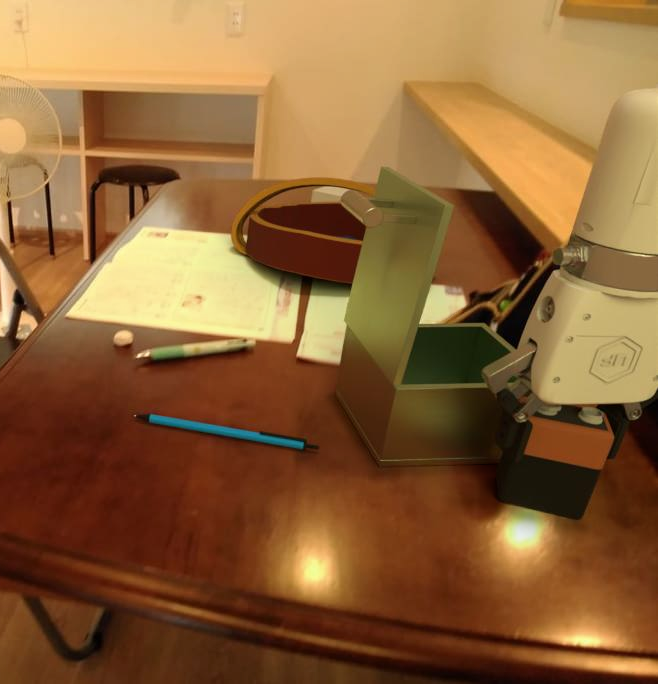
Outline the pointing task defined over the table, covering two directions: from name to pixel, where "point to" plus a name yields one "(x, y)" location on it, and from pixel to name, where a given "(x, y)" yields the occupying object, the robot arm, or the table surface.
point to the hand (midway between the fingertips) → (553, 450)
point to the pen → (230, 432)
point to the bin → (427, 398)
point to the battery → (558, 461)
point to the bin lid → (394, 266)
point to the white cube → (328, 194)
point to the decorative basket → (303, 232)
